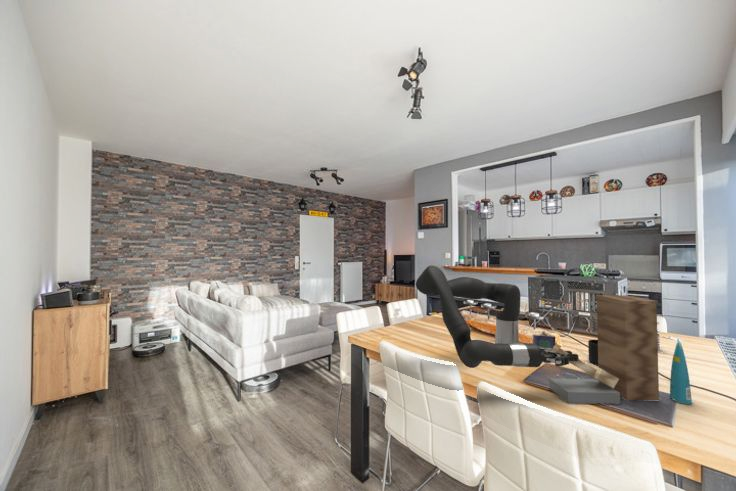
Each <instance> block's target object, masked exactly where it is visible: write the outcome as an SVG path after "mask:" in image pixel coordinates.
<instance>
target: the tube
mask: <svg viewBox="0 0 736 491" xmlns="http://www.w3.org/2000/svg"><path fill="white" fill-rule="evenodd" d="M670 397H671V398H673V399H675V400H676V401H677V402H676V401H675V402H676V403H678V404H684V405H690V404H692V403H693V400H692V399H693V398H692V391H691V382H690V375H689V370H688V364H687V360H686V355H685V352H684V347H683V345H682V342H681V341H680V339H679V338H678V337H677V338H676V345H675V347H674V352H673V355H672V360H671V368H670V381H669V398H670ZM671 398H670V399H671Z"/></svg>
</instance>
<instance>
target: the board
mask: <svg viewBox="0 0 736 491" xmlns="http://www.w3.org/2000/svg"><path fill="white" fill-rule="evenodd" d="M549 390H551V392H553V393H554V394H555V395H557V396H558V397H560V398H561V399H562V400H563V401H564V402H566V403H567V404H580V405H581V404H585V405H586V404H587V405H590V404H592V405H593V404H594V405H597V403H618V404H617V405H620V404H621V397H620V393H619V392H618V391H616V390H614V389H612V388H611V387H609V386H607V385H605V384H604V383H602V382H600V381H599V380H598V379H596V378H593V379H592V378H549ZM619 403H620V404H619Z"/></svg>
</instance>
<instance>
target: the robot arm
mask: <svg viewBox="0 0 736 491" xmlns="http://www.w3.org/2000/svg"><path fill="white" fill-rule="evenodd" d="M415 287H416V289H417V290H418V291H419V292H420V293H422V294H423V295H426V296H431V297H439V301H440V309H441V316H442V320H443V324H444V326H445V327H446V329H447V330H448V333H449V334H450V336H451V339H452V341H453V344H454V347H455V351H456V354H457V355H458V357H459V360H460V361H461V363H462V364H463V365H465V367H467V368H470V369H471V368H472V369H473V368H475V369H476V368H477V367H478V366H479V365H481V363H482V362H490V363H491V364H493V366H500V367H509V366H510V367H516V368H539V367H541V365H542V363H544V364H554V366H555V367H562V366H567V365H570V363H569V361H578V360H580V359H579V355H578V354H577V353H573V352H572V351H571V350H565V351H566V352H567V353H569V354H565V353H559V352H556V351H552V349H553V348H549V347H542V346H537V345H536V344H534V343H533V342H531V343H530V342H527V343H526V342H519V340H520V339H519V316H520V312H521V290H520V288H519V287H518V286H517V285H515V284H512V283H511V284H510V283H501V282H500V283H498V282H497V283H496V282H495V283H492V282H485V281H483V280H481V279H478V278H475V277H468V276H462V277H457V278H451V279H449V280H448V279H447V276H446V275H445V273H444V271H443V270H442V269H441V268H439V267H438V266H436V265H428V266H427V267H426V268H425V269H424V270H423V271H422V272H421V274H420V275H419V276H418V278H417V280H416V281H415ZM455 298H461V299H467V300H477V301H478V300H482V299H483V300H488V301H489V300H490V301H492V302H496V303H499V304H503V306H504V308H503V309H502V310H499V311H496V313H495V329H496V330H495V333H494V343H493V342H492V341H491V342H490V341H487V340H483V339H482V340H481V339H472V338H471V329H470V326H469V325H468V323H467V321H466V318H464V315H462V312H461V311H460V308H459V307H458V305H457V302H456V299H455Z"/></svg>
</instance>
